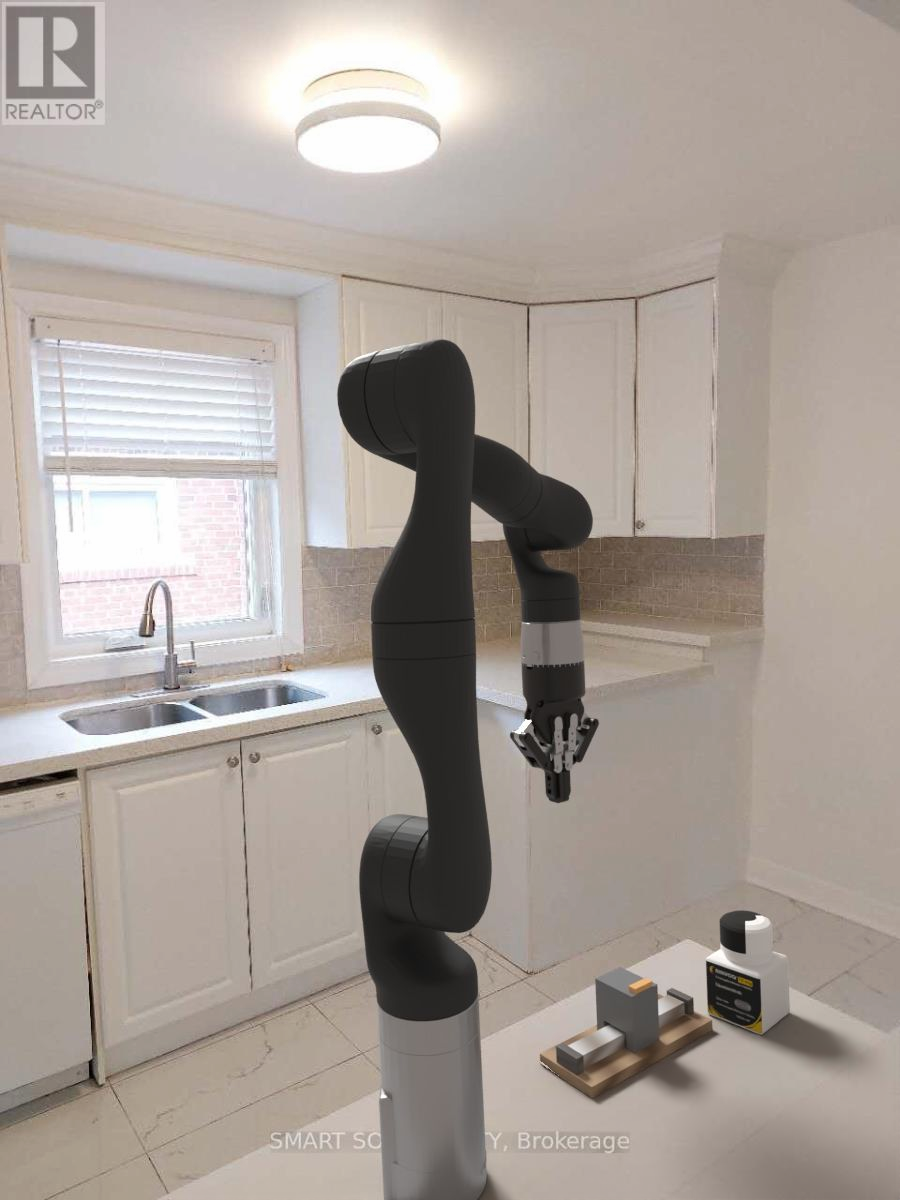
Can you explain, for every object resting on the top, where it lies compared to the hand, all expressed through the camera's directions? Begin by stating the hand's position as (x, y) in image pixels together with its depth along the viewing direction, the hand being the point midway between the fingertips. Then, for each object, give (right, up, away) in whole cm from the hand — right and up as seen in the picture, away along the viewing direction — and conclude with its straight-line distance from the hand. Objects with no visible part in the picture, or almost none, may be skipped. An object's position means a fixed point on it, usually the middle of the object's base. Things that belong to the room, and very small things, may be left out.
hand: (558, 800), depth 102 cm
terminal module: (+7, -26, -5) cm, 27 cm away
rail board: (+7, -27, -5) cm, 28 cm away
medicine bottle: (+23, -26, 0) cm, 35 cm away
